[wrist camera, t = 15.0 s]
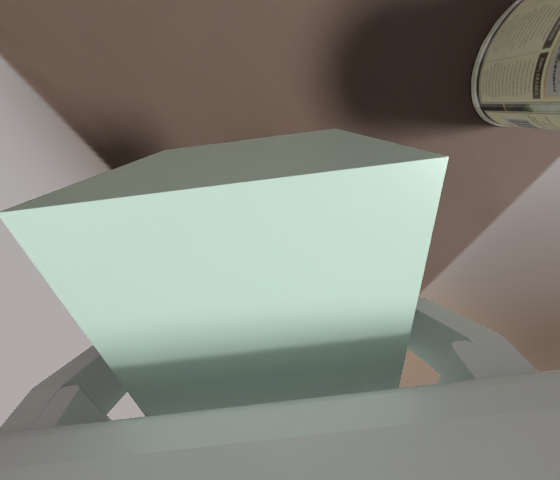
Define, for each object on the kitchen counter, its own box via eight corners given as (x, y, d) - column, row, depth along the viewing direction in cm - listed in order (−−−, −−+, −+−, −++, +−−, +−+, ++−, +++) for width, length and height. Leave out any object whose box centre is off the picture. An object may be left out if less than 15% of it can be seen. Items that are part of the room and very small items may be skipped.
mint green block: (164, 150, 10) (-4, 212, 4) (335, 128, 10) (449, 156, 4) (222, 327, 15) (190, 477, 9) (335, 314, 15) (383, 456, 9)
